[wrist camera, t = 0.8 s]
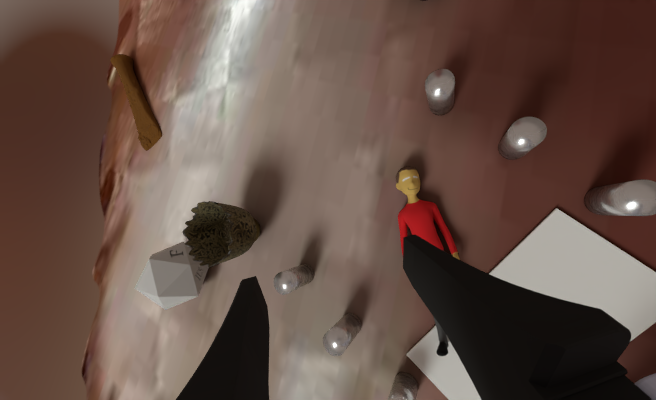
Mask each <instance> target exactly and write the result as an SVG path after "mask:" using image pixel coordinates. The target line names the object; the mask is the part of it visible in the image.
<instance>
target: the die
mask: <svg viewBox="0 0 656 400" xmlns="http://www.w3.org/2000/svg"><path fill="white" fill-rule="evenodd" d="M191 249H192V248H191V247H188V246H186V245H185V243H184V242H181V243H179V244H177V245H174V246H172V247H169V248H167V249H165V250H162V251H160V252H157V253H155V254H153V255H152V256H151V257H150V258H149V260H148V262H147V264H146V266H145V268H144V270H143V272H142V274H141V276H140V278H139V280H138V282H137V284H136V286H135V289H136V290H138V291H139V292H141V293H142V294H143V295H145V296H146V297H148V298H149V299H151V300H152V301H153V302H155V303H156V304H158V305H159V306H161V307H162V308H163V309H165V310H167V309H169V308H171V307H174V306H176V305H179V304H181V303H183V302H186V301H188V300H191V299H193V298H195V297H198V296H199V293H200V290H201V288H202V285H203V282H204V279H205V276H206V273H207V271H208V268H209V267H208V265H204V266H200V265H199V264H200V263H201V262H196V261H193V258H194V256H190V255H189V252H190V251H191Z"/></svg>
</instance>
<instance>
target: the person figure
mask: <svg viewBox="0 0 656 400" xmlns="http://www.w3.org/2000/svg"><path fill="white" fill-rule="evenodd" d="M396 181H397V184H396V187H397V189H398V190H401V191H402V192H403V193H404V194H406V195H407V197H408V203H407V204H406V206H405V207H404V208H403V209H402V210H401V211H400V212H399V215H398V222H399V229H400V237H401V248H402V254H403V237H407V225H408V227H409V228H410V230H411V233H412V235H414V234H415V235H417V236H419V237H421V238H422V239H424V240H426V241H427V242H429V243H431V244H432V245H434V246H436V247H437V248H439V249H441V250H443V251H444V248H443V246H442V243H441V241H440V239H439V237H438V235H437V232H436V229H435V226H434V222H433V221H434V220H435V222H436V223H437V225H438V227H439V229H440V230H441V232H442V234H443V236H444V238H445V240H446V242H447V244H448V247H449V249H450V252H451V254H452V255H453V257H455V258H457V259H459V256H458V254H459V253H458V251H457V248H456V246H455V243H454V241H453V238H452V236H451V234H450V232H449V230H448V228H447V226H446V224H445V222H444V221H443V218H442V216H441V214H440V212H439V210H438V207H437V205H436V204H435V203H433V202H428V201H423V200H420V199H418V198H417V196H416V194H417V193H418V192H419V190H420V179H419V174H418V171H417V170H416V169H415V168H413V167H404V168H402V169H400V170H399V171H398V173H397V175H396ZM433 218H434V220H433ZM444 252H445V251H444ZM459 260H460V259H459ZM434 320H435V324H436V328H437V332H438V338H439V346H438V348H437V351H436V352H437V354H438V355H439V356H446V355H447V354H448V349H447V348H448V346H449V344H448V341H447V336H446V334H445V332H444V331H443V329H442V327H441V326H440V324H439V323H438V322H437V320H436V319H435V317H434Z"/></svg>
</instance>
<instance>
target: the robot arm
mask: <svg viewBox="0 0 656 400" xmlns="http://www.w3.org/2000/svg"><path fill="white" fill-rule="evenodd" d="M403 269H404V271H405V273H406V275H407V276H408V278H409V280H410V282H411V284H412V286H413V287H414V289H415V290H416V292H417V293H418V295H419V296H420V297H421V299H422V300H423V302H424V303H425V305H426V306H427V307H428V309H429V310H430V312H431V313H432V315H433V316H434V317H435V319H436V320H437V322H438V323H439V324H440V326H441V327H442V329H443V331H444V332H445V334H446V335H447V337H448V339H449V341H450V342H451V344H452V346H453V348H454V349H455V351H456V353H457V355H458V356H459V358H460V360H461V362H462V364H463V366H464V367H465V369H466V371H467V373H468V375H469V377H470V378H471V380H472V382H473V384H474V386H475V388H476V390H477V392H478V394H479V396H480V398H481V400H656V373H654V374H652V375H649V376H646V377H644V378H642V379H640V380H638V381H637V382H635V383H633V382H632V381H630V380H629V379H628V378H627V377H626V376H625V375H626V374H627V370H626V369H625V368H624V367H623V366H622V365H620V364H619V363H618V362H617V360H618V358H619V357H620V355H621V354H622V353H623V351H624V350H625V349H626V347H627V346H628V344H629V342H630V341H631V332H630V331H629V329H627V328H626V327H625V326H623V325H622V324H621V323H619V322H618V321H617V320H615V319H614V318H613V317H611V316H610V315H608V314H607V313H606V312H604V311H603V310H601V309H599V308H594V307H590V306H586V305H582V304H578V303H574V302H569V301H565V300H562V299H558V298H555V297H551V296H548V295H544V294H541V293H538V292H535V291H532V290H529V289H526V288H523V287H520V286H517V285H515V284H512V283H509V282H507V281H504V280H501V279H499V278H497V277H494V276H492V275H490V274H487V273H485V272H483V271H481V270H478V269H476V268H474V267H472V266H470V265H468V264H466V263H464V262H462V261H461V260H459V259H457V258H455V257H453V256H451V255H450V254H448V253H446V252H444V251H443V250H441V249H439V248H437V247H436V246H434V245H432V244H431V243H429V242H427V241H426V240H424V239H422V238H421V237H419V236H417V235H415V234H414V235H410V236H407V237H403ZM268 374H269V318H268V309H267V304H266V301H265V299H264V296H263V294H262V291H261V288H260V286H259V283H258V280H257V278H256V276H255V277H251V278H247V279H243V280H242V281H241V283H240V285H239V288H238V291H237V293H236V295H235V298H234V300H233V303H232V305H231V307H230V309H229V311H228V314H227V316H226V318H225V320H224V322H223V324H222V326H221V328H220V330H219V332H218V334H217V336H216V337H215V339H214V341H213V343H212V345H211V347H210V348H209V350H208V352H207V354H206V355H205V357H204V359H203V360H202V362H201V363H200V365H199V367H198V368H197V370H196V371H195V373H194V374H193V376H192V377H191V379H190V380H189V382H188V383H187V385H186V386H185V388H184V389H183V390H182V392H181V393H180V395H179V396H178V397H177V399H176V400H269V386H268Z"/></svg>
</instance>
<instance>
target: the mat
mask: <svg viewBox="0 0 656 400" xmlns="http://www.w3.org/2000/svg"><path fill="white" fill-rule="evenodd" d="M489 274H490V275H492V276H494V277H497V278H499V279H501V280H504V281H507V282H509V283H512V284H515V285H517V286H520V287H523V288H526V289H529V290H532V291H535V292H538V293H541V294H544V295H548V296H551V297H555V298H558V299H562V300H565V301H569V302H574V303H578V304H582V305H586V306H590V307H594V308H599V309H601V310H603V311H604V312H606V313H607V314H608V315H610V316H611V317H613V318H614V319H615V320H617V321H618V322H619V323H621V324H622V325H623V326H625V327H626V328H627V329H629V331H630V332H631V341H632V340H633V339H634V338H636V337H637V336H638V335H640V334H641V333H642V332H644V331H645V330H646V329H647V328H649V327H650V326H651V325H653V324H654V323H655V322H656V272H655V271H653V270H652V269H650V268H648V267H647V266H645V265H644V264H642V263H641V262H639V261H638V260H636V259H634V258H633V257H631V256H630V255H628V254H627V253H625V252H624V251H622V250H621V249H619V248H617V247H616V246H614V245H613V244H611V243H610V242H608V241H607V240H605V239H604V238H602V237H600V236H599V235H597V234H596V233H594V232H593V231H591V230H590V229H588V228H586V227H585V226H583V225H582V224H580V223H579V222H577V221H576V220H574V219H573V218H571V217H569V216H568V215H566V214H565V213H563V212H562V211H560V210H559V209H557V208H556V209H554V210H553V211H552V212H551V213H550V214H549V215H548V216H547V217H546V218H545V219H544V220H543V221H542V222H541V223H540V224H539V225H538V226H537V227H536V228H535V229H534V230H533V231H532V232H531V233H530V234H529V235H528V236H527V237H526V238H525V239H524V240H523V241H522V242H521V243H520V244H519V245H517V246H516V247H515V248H514V249H513V250H512V251H511V252H510V253H509V254H508V255H507V256H506V257H505V258H504V259H503V260H502V261H501V262H500V263H499V264H498V265H497V266H496V267H495V268H494V269H493V270H492V271H491V272H490V273H489ZM446 336H447V335H446ZM447 341H448V344H449V346H448V348H447V349H448V354H447V355H446V356H439V355H438V354H437V352H436V351H437V348H438V346H439V338H438V332H437V328H436V325H435V326H434V327H433V328H432V329H431V330H430V331H429V332H428V333H427V334H426V335H425V336H424V337H423V338H422V339H421V340H420V341H419V342H418V343H417V344H416V345H415V346H414V347H413V348H412V349H411V350H410V351H409V352H408V353H407V354H406V355H407V356H408V357H409V358H410V359H411V360H412V361H413V363H414V364H415V365H416V366H417V367H418V368H419V369H420V370H421V371H422V372H423V373H424V374H425V375H426V376H427V377H428V378H429V379H430V380H431V381H432V382H433V384H434V385H435V386H436V387H437V388H438V389H439V390H440V391H441V392H442V393H443V394H444V395H445V396H446V397H447V398H448V399H449V400H481V398H480V396H479V394H478V392H477V390H476V388H475V386H474V384H473V382H472V380H471V378H470V377H469V375H468V373H467V371H466V369H465V367H464V366H463V364H462V362H461V360H460V358H459V356H458V355H457V353H456V351H455V349H454V348H453V346H452V344H451V342H450V341H449V339H448V337H447Z"/></svg>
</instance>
